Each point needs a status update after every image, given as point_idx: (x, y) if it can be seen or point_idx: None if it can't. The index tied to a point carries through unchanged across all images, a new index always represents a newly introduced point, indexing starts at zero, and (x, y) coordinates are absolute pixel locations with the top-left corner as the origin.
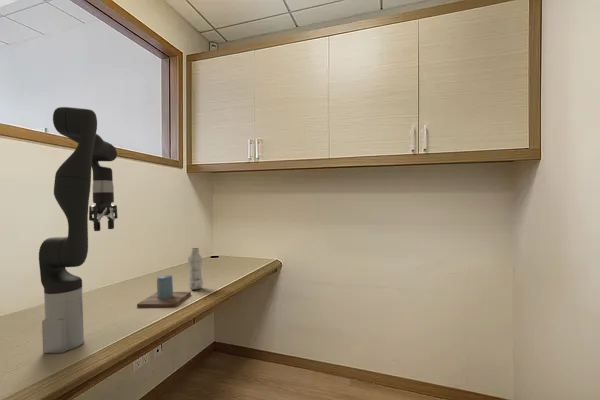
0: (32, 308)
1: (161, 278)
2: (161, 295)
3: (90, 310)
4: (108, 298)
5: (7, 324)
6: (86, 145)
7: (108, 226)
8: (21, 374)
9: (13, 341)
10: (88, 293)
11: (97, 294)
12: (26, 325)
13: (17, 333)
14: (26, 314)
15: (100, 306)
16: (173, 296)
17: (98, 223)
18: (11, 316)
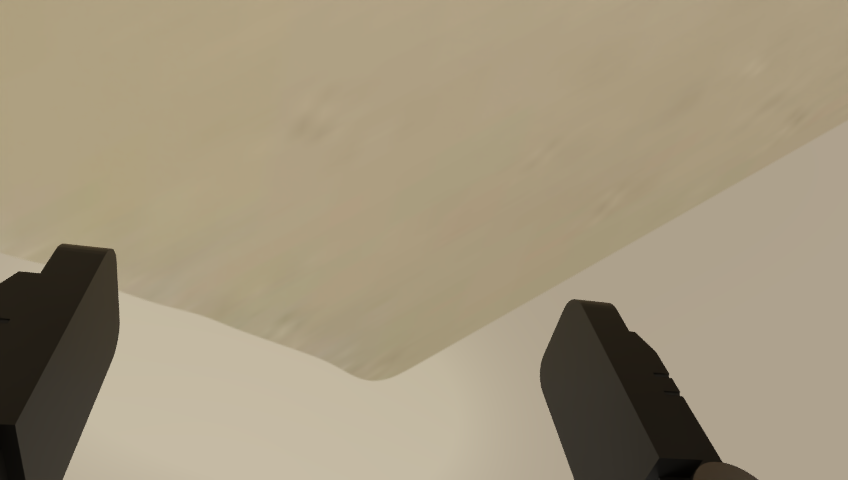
0: (312, 342)
1: None
2: None
3: (417, 33)
4: (170, 33)
5: (512, 305)
6: None
7: (98, 380)
8: None
9: (736, 163)
10: (49, 226)
11: (71, 158)
12: (555, 227)
13: (645, 203)
14: (398, 314)
15: (348, 5)
16: None
17: (675, 435)
18: (410, 352)
